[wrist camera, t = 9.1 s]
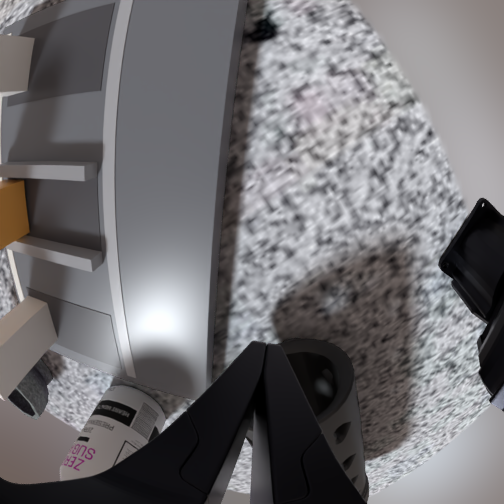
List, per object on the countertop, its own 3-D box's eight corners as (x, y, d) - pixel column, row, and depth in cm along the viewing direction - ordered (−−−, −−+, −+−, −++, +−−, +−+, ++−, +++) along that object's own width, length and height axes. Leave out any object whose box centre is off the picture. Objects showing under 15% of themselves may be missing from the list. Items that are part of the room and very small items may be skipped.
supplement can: (156, 430, 34) (118, 519, 21) (103, 398, 33) (54, 483, 20) (177, 408, 31) (134, 517, 17) (115, 371, 30) (53, 473, 16)
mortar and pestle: (72, 389, 34) (32, 448, 23) (45, 390, 37) (10, 439, 26) (23, 327, 31) (-29, 382, 20) (3, 337, 34) (-40, 382, 23)
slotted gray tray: (250, -16, 14) (195, -133, 2) (211, 384, 28) (176, 492, 17) (22, 29, 16) (-78, 26, 4) (43, 329, 30) (-16, 394, 18)
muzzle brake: (348, 318, 23) (366, 425, 14) (366, 463, 33) (370, 524, 23) (236, 339, 25) (207, 440, 16) (302, 472, 35) (297, 532, 26)
